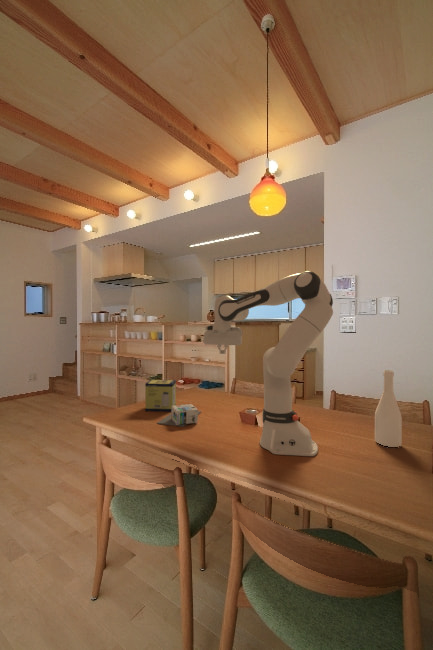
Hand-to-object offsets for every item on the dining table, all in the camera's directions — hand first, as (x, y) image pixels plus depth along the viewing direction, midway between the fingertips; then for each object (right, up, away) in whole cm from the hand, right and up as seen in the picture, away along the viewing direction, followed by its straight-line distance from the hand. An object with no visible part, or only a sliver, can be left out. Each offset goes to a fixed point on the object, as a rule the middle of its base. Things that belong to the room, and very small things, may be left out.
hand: (222, 353), depth 153 cm
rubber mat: (-22, -33, -1) cm, 39 cm away
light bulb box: (-14, -29, -5) cm, 33 cm away
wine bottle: (+67, -34, -32) cm, 82 cm away
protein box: (-35, -33, +14) cm, 50 cm away
